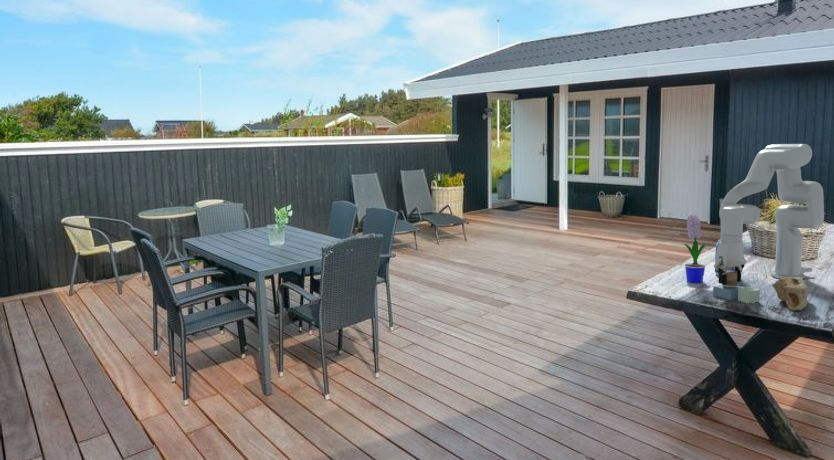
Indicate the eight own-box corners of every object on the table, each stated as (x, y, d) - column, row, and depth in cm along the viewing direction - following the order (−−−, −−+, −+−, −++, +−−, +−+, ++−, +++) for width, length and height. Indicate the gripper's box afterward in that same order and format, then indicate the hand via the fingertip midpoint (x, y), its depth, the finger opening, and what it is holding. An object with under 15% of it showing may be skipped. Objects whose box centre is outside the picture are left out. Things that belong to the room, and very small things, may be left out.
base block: (727, 293, 229) (728, 283, 228) (745, 297, 222) (745, 288, 221) (713, 295, 226) (713, 286, 226) (730, 300, 219) (730, 290, 218)
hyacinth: (712, 283, 242) (714, 214, 237) (686, 283, 244) (688, 215, 240) (706, 278, 251) (708, 212, 246) (681, 278, 253) (683, 212, 248)
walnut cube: (736, 286, 220) (737, 274, 219) (722, 285, 222) (722, 273, 221) (736, 283, 224) (737, 271, 223) (722, 282, 226) (722, 270, 226)
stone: (825, 312, 199) (826, 284, 198) (787, 312, 202) (788, 284, 200) (804, 299, 215) (805, 273, 214) (769, 298, 218) (771, 273, 217)
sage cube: (748, 299, 219) (748, 286, 218) (759, 302, 214) (759, 289, 213) (737, 300, 218) (738, 288, 217) (748, 304, 213) (749, 291, 212)
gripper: (739, 234, 227) (737, 277, 229) (706, 239, 221) (705, 283, 224) (756, 237, 220) (754, 281, 222) (722, 242, 214) (721, 287, 217)
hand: (729, 282), depth 223 cm, fingers closed on walnut cube, 6 cm apart
